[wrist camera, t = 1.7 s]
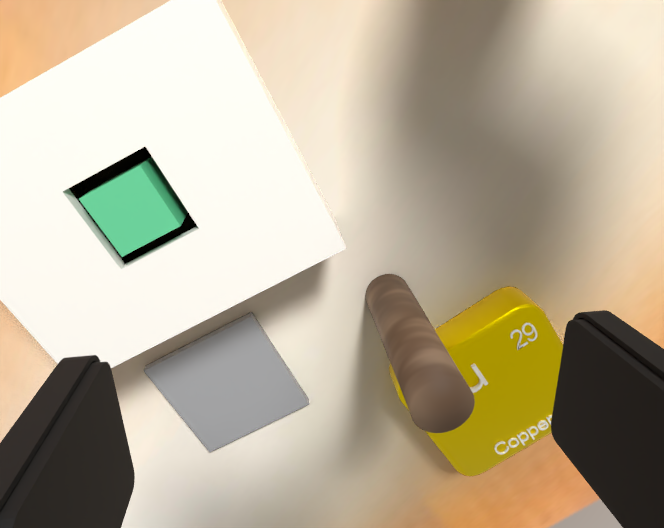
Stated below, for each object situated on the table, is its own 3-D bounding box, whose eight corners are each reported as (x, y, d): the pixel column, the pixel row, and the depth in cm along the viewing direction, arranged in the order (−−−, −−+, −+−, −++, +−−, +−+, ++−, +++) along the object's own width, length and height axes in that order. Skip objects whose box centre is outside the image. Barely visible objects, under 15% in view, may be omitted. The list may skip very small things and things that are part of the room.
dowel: (398, 266, 44) (461, 368, 29) (415, 301, 45) (483, 415, 31) (358, 286, 44) (400, 397, 29) (376, 320, 46) (425, 442, 31)
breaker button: (154, 154, 34) (139, 165, 30) (190, 209, 35) (180, 226, 32) (99, 184, 34) (78, 198, 30) (137, 237, 36) (121, 257, 32)
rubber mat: (251, 312, 44) (251, 316, 43) (308, 399, 48) (309, 404, 47) (145, 365, 45) (143, 370, 44) (210, 446, 49) (209, 452, 48)
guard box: (220, -2, 35) (205, -20, 27) (333, 215, 41) (346, 248, 34) (-40, 145, 36) (-120, 166, 29) (110, 330, 43) (77, 385, 36)
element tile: (452, 453, 54) (468, 488, 49) (379, 361, 48) (390, 391, 44) (574, 380, 52) (602, 410, 47) (513, 276, 46) (538, 298, 42)
